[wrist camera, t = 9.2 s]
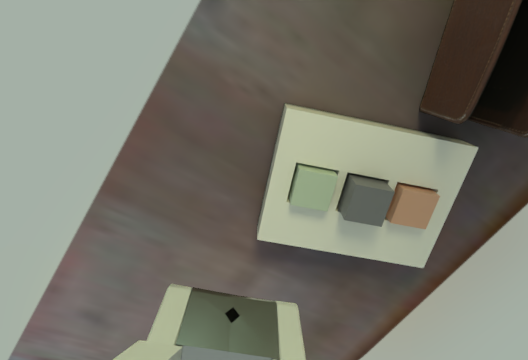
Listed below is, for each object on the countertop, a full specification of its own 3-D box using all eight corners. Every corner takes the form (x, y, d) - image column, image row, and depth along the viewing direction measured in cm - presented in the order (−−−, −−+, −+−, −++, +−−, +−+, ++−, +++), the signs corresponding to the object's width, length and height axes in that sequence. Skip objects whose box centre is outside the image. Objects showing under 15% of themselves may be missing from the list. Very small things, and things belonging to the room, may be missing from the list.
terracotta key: (392, 178, 36) (403, 189, 33) (426, 185, 36) (440, 196, 34) (380, 210, 37) (390, 222, 35) (413, 216, 38) (425, 229, 35)
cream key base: (284, 102, 34) (286, 107, 31) (459, 139, 36) (478, 147, 33) (257, 224, 40) (257, 239, 37) (410, 251, 41) (423, 268, 38)
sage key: (296, 160, 35) (299, 169, 32) (332, 166, 35) (338, 176, 33) (288, 193, 37) (290, 204, 34) (322, 199, 37) (327, 211, 34)
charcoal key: (348, 173, 34) (356, 184, 32) (384, 180, 35) (394, 191, 32) (337, 207, 36) (344, 220, 33) (372, 213, 36) (381, 226, 33)
